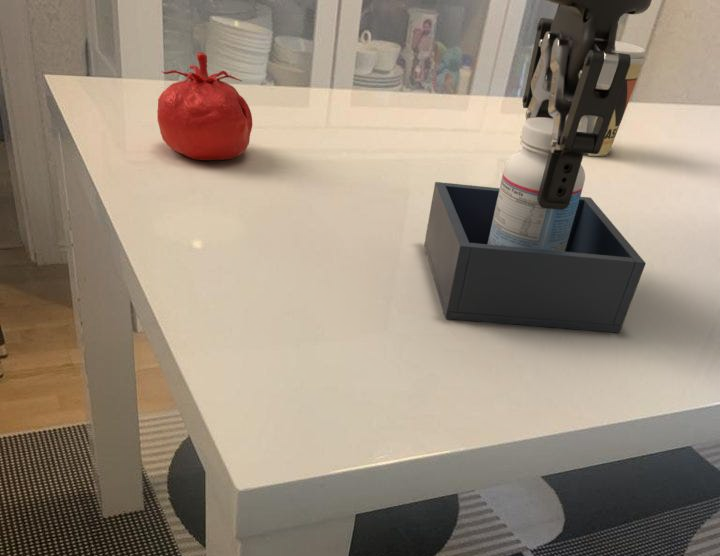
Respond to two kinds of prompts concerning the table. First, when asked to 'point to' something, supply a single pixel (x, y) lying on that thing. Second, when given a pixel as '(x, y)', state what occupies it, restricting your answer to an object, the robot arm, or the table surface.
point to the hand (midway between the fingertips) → (540, 190)
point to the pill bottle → (532, 196)
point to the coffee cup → (622, 92)
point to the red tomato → (204, 115)
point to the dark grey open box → (528, 267)
